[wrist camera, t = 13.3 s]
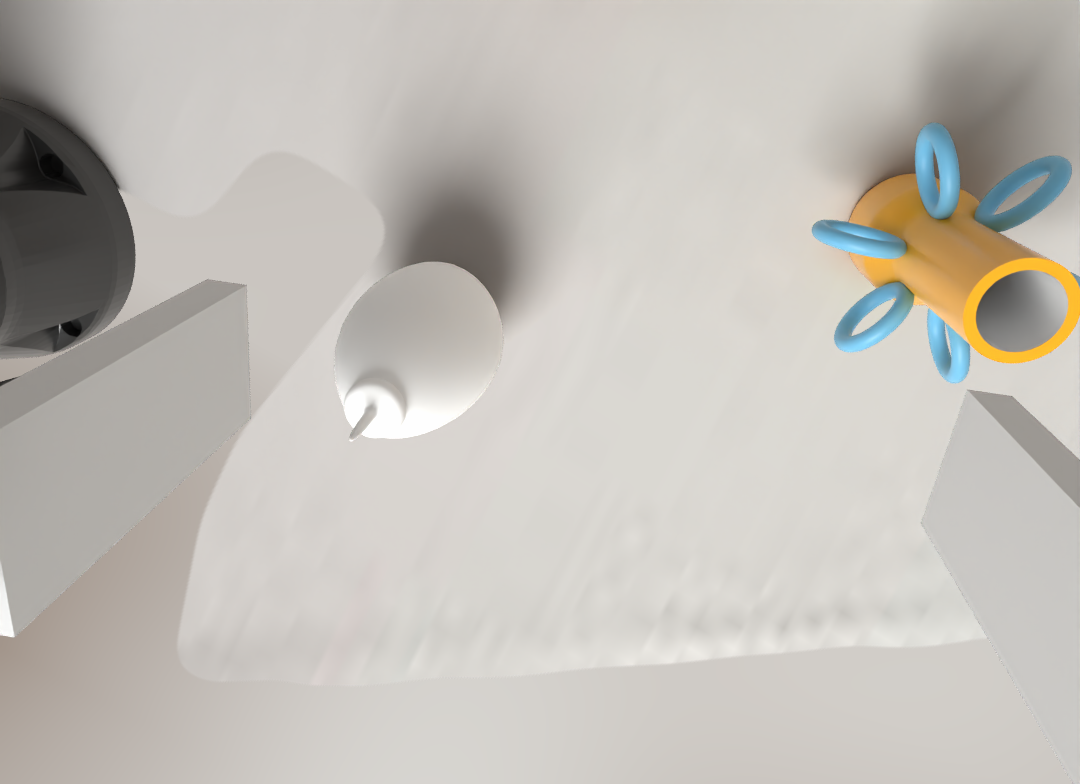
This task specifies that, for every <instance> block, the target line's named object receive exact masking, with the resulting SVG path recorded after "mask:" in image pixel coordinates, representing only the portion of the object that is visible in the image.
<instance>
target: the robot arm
mask: <svg viewBox="0 0 1080 784" xmlns="http://www.w3.org/2000/svg"><path fill="white" fill-rule="evenodd" d="M134 270H135V243H134V236H133V230H132V226H131V222H130V218H129V215H128V212H127V209H126V207H125V204H124V202H123V199H122V197H121V195H120V193H119V191H118V189H117V187H116V185H115V183H114V181H113V180H112V178H111V177H110V175H109V173H108V172H107V170H106V169H105V168H104V166H103V165H102V163H101V162H100V161H99V160H98V158H97V157H96V156H95V155H94V153H93V152H92V151H91V150H90V149H89V148H88V147H87V146H86V145H85V144H84V143H83V142H82V141H81V140H80V139H79V138H78V137H77V136H76V135H74V134H73V133H72V132H71V131H70V130H68V129H67V128H66V127H64V126H63V125H62V124H60V123H59V122H57V121H56V120H54V119H53V118H51V117H49V116H48V115H46V114H44V113H42V112H40V111H38V110H36V109H34V108H31V107H29V106H27V105H24V104H21V103H18V102H15V101H11V100H7V99H1V98H0V359H11V358H29V357H40V356H46V355H50V354H54V353H57V352H61V351H64V350H66V349H68V348H71V347H73V346H74V345H77V344H79V343H81V342H83V341H84V340H86V339H88V338H90V337H92V336H94V335H96V334H97V333H99V332H100V331H102V330H103V329H104V328H105V327H107V326H108V325H109V324H110V323H111V322H112V321H113V320H114V319H115V317H116V316H117V315H118V313H119V312H120V311H121V309H122V307H123V305H124V304H125V302H126V300H127V297H128V295H129V292H130V290H131V286H132V282H133V277H134ZM247 313H248V312H247V285H242V284H235V283H228V282H222V281H215V280H208V279H207V280H205V281H203V282H201V283H199V284H197V285H195V286H193V287H191V288H190V289H187V290H186V291H184V292H182V293H180V294H178V295H176V296H174V297H172V298H170V299H168V300H166V301H164V302H162V303H160V304H159V305H157V306H155V307H153V308H151V309H149V310H147V311H145V312H143V313H141V314H139V315H137V316H135V317H134V318H131V319H130V320H128V321H126V322H124V323H122V324H120V325H118V326H116V327H114V328H112V329H110V330H108V331H106V332H104V333H103V334H101V335H99V336H97V337H95V338H93V339H91V340H89V341H87V342H85V343H83V344H82V345H80V346H77V347H75V348H74V349H72V350H70V351H68V352H66V353H64V354H62V355H60V356H58V357H56V358H54V359H52V360H51V361H48V362H47V363H45V364H43V365H41V366H39V367H37V368H35V369H33V370H31V371H29V372H27V373H25V374H23V375H22V376H19V377H16V378H12V379H9V380H5V381H2V382H0V635H4V636H9V637H16V635H18V634H19V633H20V632H21V631H22V630H23V629H24V628H25V627H26V626H27V625H28V624H30V622H32V621H33V620H34V619H35V618H36V617H37V616H38V615H39V614H40V613H41V612H42V611H44V610H45V609H46V608H47V607H48V606H49V605H50V604H51V603H52V602H53V601H54V600H55V599H56V598H58V597H59V596H60V595H61V594H62V593H63V592H64V591H65V590H66V589H67V588H68V587H69V586H71V585H72V584H73V583H74V582H75V581H76V580H77V579H78V578H79V577H80V576H81V575H82V574H83V573H85V572H86V571H87V570H88V569H89V568H90V567H91V566H92V565H93V564H94V563H95V562H96V561H97V560H98V559H100V558H101V557H102V556H103V555H104V554H105V553H106V552H107V551H108V550H109V549H110V548H111V547H112V546H114V545H115V544H116V543H117V542H118V541H119V540H120V539H121V538H122V537H123V536H125V535H126V534H127V533H128V532H129V531H130V530H131V529H132V528H133V527H134V526H135V525H136V524H137V523H138V522H140V521H141V520H142V519H143V518H144V517H145V516H146V515H147V514H148V513H149V512H150V511H151V510H153V509H154V508H155V507H156V506H157V505H158V504H159V503H160V502H161V501H162V500H163V499H164V498H166V497H167V496H168V495H169V494H170V493H171V492H172V491H173V490H174V489H175V488H176V487H177V486H178V485H180V483H182V482H183V481H184V480H185V479H186V478H187V477H188V476H189V475H190V474H191V473H193V471H194V470H196V469H197V468H198V467H199V466H200V465H201V464H202V463H203V462H204V461H205V460H207V459H208V458H209V457H210V456H211V455H212V454H213V453H214V452H215V451H216V450H217V449H218V448H219V447H221V446H222V445H223V444H224V443H225V442H226V441H227V440H228V439H229V438H230V437H231V436H232V435H234V434H235V433H236V432H237V431H238V430H239V429H240V428H241V427H242V426H243V425H244V424H245V423H246V422H248V421H249V420H250V419H251V403H250V372H249V342H248V314H247ZM921 524H922V526H923V528H924V529H925V531H926V533H927V535H928V536H929V538H930V540H931V541H932V543H933V545H934V547H935V548H936V550H937V552H938V553H939V555H940V557H941V559H942V560H943V562H944V564H945V565H946V567H947V569H948V571H949V572H950V574H951V576H952V577H953V579H954V581H955V583H956V584H957V586H958V588H959V590H960V591H961V593H962V595H963V596H964V598H965V600H966V602H967V603H968V605H969V607H970V608H971V610H972V612H973V614H974V615H975V617H976V619H977V620H978V622H979V624H980V626H981V627H982V629H983V631H984V632H985V634H986V636H987V638H988V639H989V641H990V643H991V644H992V646H993V648H994V650H995V651H996V653H997V655H998V656H999V658H1000V660H1001V662H1002V663H1003V665H1004V667H1005V668H1006V670H1007V672H1008V674H1009V675H1010V677H1011V679H1012V681H1013V682H1014V684H1015V685H1016V687H1017V689H1018V691H1019V693H1020V694H1021V696H1022V698H1023V699H1024V701H1025V703H1026V704H1027V706H1028V708H1029V710H1030V711H1031V713H1032V714H1033V716H1034V718H1035V720H1036V722H1037V723H1038V725H1039V727H1040V729H1041V730H1042V732H1043V734H1044V735H1045V737H1046V739H1047V740H1048V742H1049V744H1050V746H1051V747H1052V749H1053V751H1054V752H1055V754H1056V756H1057V758H1058V759H1059V761H1060V763H1061V765H1062V766H1063V768H1064V770H1065V771H1066V773H1067V775H1068V776H1069V778H1070V780H1071V782H1072V784H1080V460H1079V459H1078V458H1077V457H1076V456H1075V455H1074V454H1073V453H1072V452H1071V451H1070V450H1069V449H1068V448H1067V447H1065V446H1064V445H1063V444H1062V443H1061V442H1060V441H1059V440H1058V439H1057V438H1056V437H1055V436H1054V435H1053V434H1052V433H1051V432H1050V431H1048V430H1047V429H1046V428H1045V427H1044V426H1043V425H1042V424H1041V423H1040V422H1039V421H1038V420H1037V419H1036V418H1035V417H1034V416H1033V415H1031V414H1030V413H1029V412H1028V411H1027V410H1026V409H1025V408H1024V407H1023V406H1022V405H1021V404H1020V403H1019V402H1018V401H1017V400H1016V399H1014V398H1013V397H1012V396H1007V395H1000V394H993V393H987V392H980V391H973V390H967V392H966V395H965V398H964V400H963V403H962V406H961V409H960V412H959V415H958V418H957V421H956V423H955V426H954V429H953V432H952V435H951V438H950V441H949V444H948V446H947V449H946V452H945V455H944V458H943V461H942V464H941V467H940V469H939V472H938V475H937V478H936V481H935V484H934V487H933V490H932V492H931V495H930V498H929V501H928V504H927V507H926V510H925V513H924V515H923V518H922V521H921Z"/></svg>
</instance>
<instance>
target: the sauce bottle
mask: <svg viewBox="0 0 1080 784" xmlns="http://www.w3.org/2000/svg"><path fill="white" fill-rule="evenodd" d="M503 341H504V340H503V327H502V322H501V319H500V315H499V311H498V309H497V307H496V305H495V303H494V300H493V298H492V297H491V295H490V294H489V292H488V291H487V289H486V288H485V287H484V285H483V284H482V283H481V282H480V281H479V280H478V279H477V278H476V277H475V276H473V275H472V274H470V273H469V272H468V271H466V270H465V269H463V268H460V267H458V266H456V265H454V264H449V263H444V262H422V263H417V264H413V265H409V266H406V267H404V268H401V269H399V270H397V271H394V272H392V273H390V274H389V275H387V276H386V277H384V278H383V279H381V280H380V281H378V282H377V283H375V284H374V285H373V286H372V287H370V288H369V289H368V290H367V291H366V292H365V293H364V294H363V295H362V296H361V297H360V299H359V300H358V301H357V302H356V303H355V305H354V306H353V308H352V309H351V311H350V313H349V314H348V316H347V317H346V319H345V321H344V323H343V325H342V328H341V331H340V334H339V337H338V340H337V343H336V348H335V359H334V374H335V381H336V387H337V391H338V394H339V396H340V399H341V402H342V404H343V407H344V412H345V415H346V418H347V420H348V421H349V423H350V424H351V426H352V427H353V430H352V432H351V434H350V437H349V440H350V441H353V440H355V439H356V438H358V437H359V436H360V435H361V434H362V435H364V436H366V437H371V438H381V437H384V438H406V437H411V436H417V435H421V434H424V433H427V432H429V431H432V430H435V429H437V428H439V427H442V426H443V425H445V424H447V423H448V422H450V421H452V420H454V419H455V418H457V417H458V416H460V415H461V414H463V413H464V412H465V411H466V410H467V409H468V408H469V407H471V406H472V405H473V404H474V403H475V402H476V401H477V400H478V399H479V398H480V396H481V395H482V394H483V393H484V391H485V390H486V389H487V387H488V386H489V385H490V383H491V381H492V380H493V378H494V375H495V373H496V371H497V368H498V366H499V364H500V361H501V356H502V349H503Z"/></svg>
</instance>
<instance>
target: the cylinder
mask: <svg viewBox="0 0 1080 784" xmlns="http://www.w3.org/2000/svg"><path fill="white" fill-rule="evenodd" d="M934 151H935V155H936V158H937V163H938V169H939V177H940V179H938V178H935V173H934V162H933V154H934ZM915 169H916V174H903V175H898V176H895V177H892V178H889V179H887V180H885V181H883V182H881V183H879V184H878V185H876V186H875V187H873V188H872V189H871V190H869V191H868V192H867V193H866V194H865V195H864V196H863V197H862V199H861V200H860V201H859V202H858V204H857V205H856V207H855V208H854V210H853V212H852V214H851V217H850V219H849V222H844V221H837V220H820V221H818V222H816V223H815V224H814V225H813V227H812V234H813V236H814V237H815V238H816V239H817V240H819V241H821V242H823V243H825V244H827V245H829V246H832V247H835V248H838V249H841V250H844V251H848V252H849V255H850V257H851V259H852V262H853V263H854V265H855V266H856V267H857V269H858V270H859V271H860V272H861V273H862V274H863V275H864V276H865V277H866V278H867V279H868V280H869V281H870V282H871V283H872V285H873V286H874V287H875V288H877V289H875V290H873V291H872V292H870V293H869V294H867V295H866V296H864V297H863V298H862V299H860V300H859V301H858V302H857V303H856V304H855V305H854V306H853V307H852V308H851V309H850V310H849V311H848V312H847V313H846V314H845V315H844V317H843V318H842V319H841V321H840V323H839V324H838V326H837V328H836V331H835V335H834V340H835V344H836V346H837V347H838V348H839V349H840V350H842V351H845V352H857V351H861V350H864V349H867V348H869V347H871V346H873V345H875V344H876V343H878V342H880V341H881V340H883V339H884V338H885V337H887V336H888V335H889V334H890V333H892V332H893V331H894V330H895V329H896V328H897V327H898V326H899V325H900V324H901V323H902V321H903V320H904V319H905V318H906V316H907V315H908V313H909V312H910V310H911V308H912V306H913V305H926V306H927V307H929V309H928V316H927V327H928V337H929V343H930V348H931V352H932V355H933V359H934V362H935V364H936V367H937V369H938V371H939V373H940V374H941V376H942V377H943V378H944V379H945V380H946V381H948V382H950V383H959V382H961V381H963V380H964V379H965V377H966V376H967V374H968V371H969V366H970V346H969V344H970V345H971V346H972V347H973V348H974V349H975V350H976V351H977V352H979V353H980V354H981V355H983V356H985V357H987V358H989V359H991V360H994V361H997V362H1002V363H1022V362H1027V361H1031V360H1035V359H1037V358H1040V357H1042V356H1044V355H1046V354H1048V353H1050V352H1051V351H1053V350H1054V349H1056V348H1057V347H1058V346H1059V345H1060V344H1062V343H1063V342H1064V341H1065V340H1066V338H1067V337H1068V336H1069V335H1070V334H1071V332H1072V331H1073V329H1074V327H1075V326H1076V324H1077V321H1078V319H1079V316H1080V277H1079V276H1077V275H1076V274H1074V273H1071V272H1069V271H1068V270H1067V269H1066V268H1065V267H1063V266H1062V265H1060V264H1058V263H1056V262H1054V261H1052V260H1050V259H1048V258H1046V257H1044V256H1042V255H1040V254H1038V253H1037V252H1035V251H1033V250H1031V249H1029V248H1027V247H1025V246H1023V245H1021V244H1019V243H1017V242H1015V241H1013V240H1011V239H1009V238H1007V237H1006V236H1004V235H1002V234H1000V233H998V232H1001V231H1005V230H1008V229H1011V228H1013V227H1015V226H1018V225H1020V224H1022V223H1023V222H1025V221H1027V220H1029V219H1030V218H1032V217H1033V216H1035V215H1036V214H1038V213H1039V212H1041V211H1042V210H1043V209H1044V208H1046V207H1047V206H1048V205H1049V204H1050V203H1051V202H1053V201H1054V200H1055V199H1056V198H1057V197H1058V196H1059V194H1060V193H1061V192H1062V191H1063V190H1064V188H1065V187H1066V185H1067V184H1068V182H1069V180H1070V177H1071V174H1072V167H1071V164H1070V162H1069V161H1068V160H1067V159H1066V158H1064V157H1061V156H1048V157H1043V158H1040V159H1037V160H1035V161H1032V162H1030V163H1028V164H1026V165H1024V166H1022V167H1021V168H1019V169H1017V170H1016V171H1014V172H1013V173H1011V174H1010V175H1008V176H1007V177H1006V178H1004V179H1003V180H1002V181H1000V182H999V183H998V184H997V185H996V186H995V187H994V188H993V189H992V190H991V191H990V192H989V193H988V194H987V195H986V196H985V197H984V198H983V200H982V201H981V202H979V201H978V200H977V199H976V198H975V197H974V196H973V195H971V194H970V193H968V192H967V191H965V190H963V189H961V188H960V171H959V163H958V157H957V153H956V149H955V146H954V143H953V140H952V138H951V136H950V134H949V132H948V131H947V129H946V128H945V127H944V126H943V125H941V124H939V123H929V124H927V125H926V126H924V127H923V128H922V129H921V131H920V133H919V135H918V138H917V142H916V149H915ZM1047 174H1050V175H1049V177H1048V179H1047V180H1046V181H1045V183H1044V184H1043V185H1042V186H1041V187H1040V188H1039V189H1038V190H1037V191H1036V192H1035V193H1034V194H1032V195H1031V196H1030V197H1029V198H1027V199H1026V200H1025V201H1023V202H1022V203H1020V204H1019V205H1017V206H1015V207H1014V208H1012V209H1010V210H1008V211H1006V212H1003V213H1000V214H997V215H994V213H995V212H996V210H997V209H998V207H999V206H1000V205H1001V204H1002V203H1003V202H1004V201H1005V200H1006V199H1007V198H1008V197H1009V196H1010V195H1011V194H1012V193H1014V192H1015V191H1016V190H1018V189H1019V188H1020V187H1022V186H1023V185H1025V184H1027V183H1028V182H1030V181H1032V180H1034V179H1036V178H1038V177H1041V176H1044V175H1047ZM891 299H893V300H895V302H894V304H893V306H892V307H891V309H890V310H889V311H888V312H887V313H886V314H885V315H884V316H883V317H882V318H881V319H880V320H879V321H878V322H877V323H876V324H874V325H873V326H872V327H870V328H869V329H867V330H865V331H864V332H862V333H860V334H857V335H854V336H851V335H852V332H853V330H854V329H855V327H856V326H857V324H858V323H859V322H860V321H861V320H862V319H863V318H864V317H865V316H866V315H867V314H868V313H869V312H870V311H872V310H873V309H874V308H876V307H877V306H879V305H880V304H882V303H884V302H886V301H888V300H891ZM945 324H946V327H947V331H948V335H949V340H950V346H951V355H950V352H949V349H948V345H947V340H946V334H945Z"/></svg>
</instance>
